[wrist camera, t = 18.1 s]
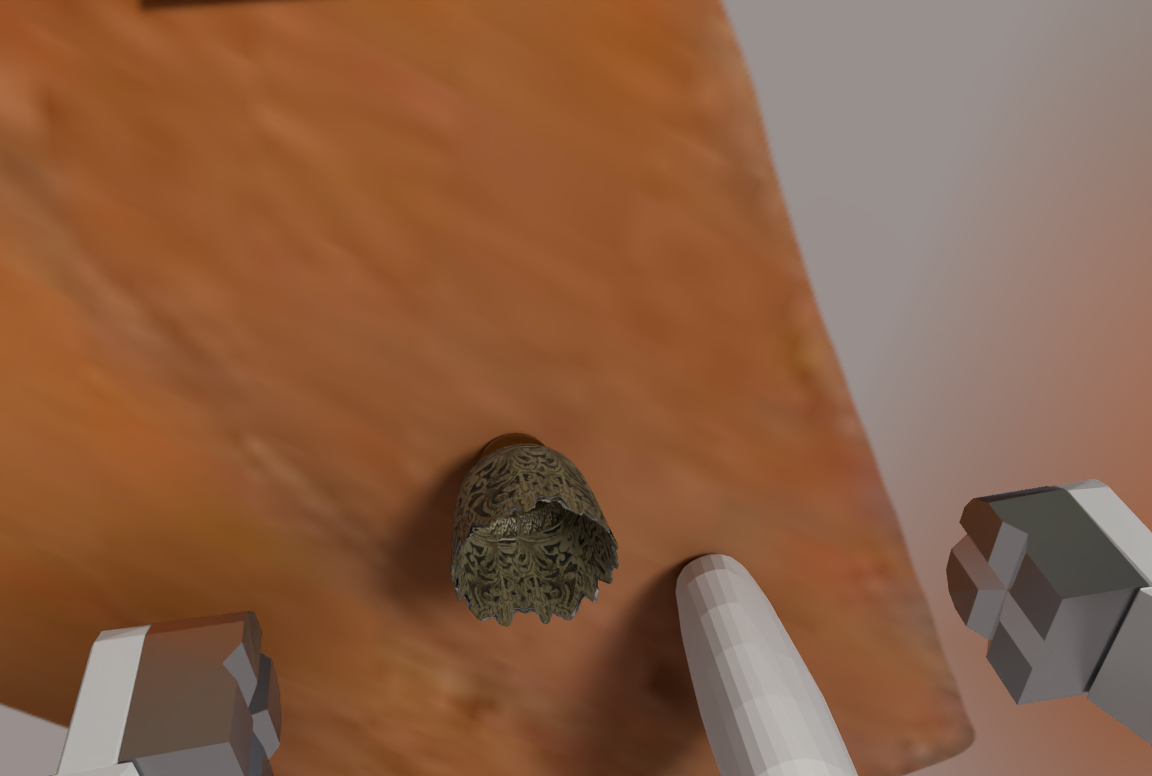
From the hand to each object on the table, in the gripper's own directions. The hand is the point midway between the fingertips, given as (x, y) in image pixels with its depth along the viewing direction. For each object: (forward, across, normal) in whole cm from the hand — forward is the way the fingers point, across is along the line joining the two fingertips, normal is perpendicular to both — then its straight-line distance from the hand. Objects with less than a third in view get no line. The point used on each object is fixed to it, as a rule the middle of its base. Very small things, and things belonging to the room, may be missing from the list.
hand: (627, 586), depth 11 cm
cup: (+29, +1, -23) cm, 37 cm away
